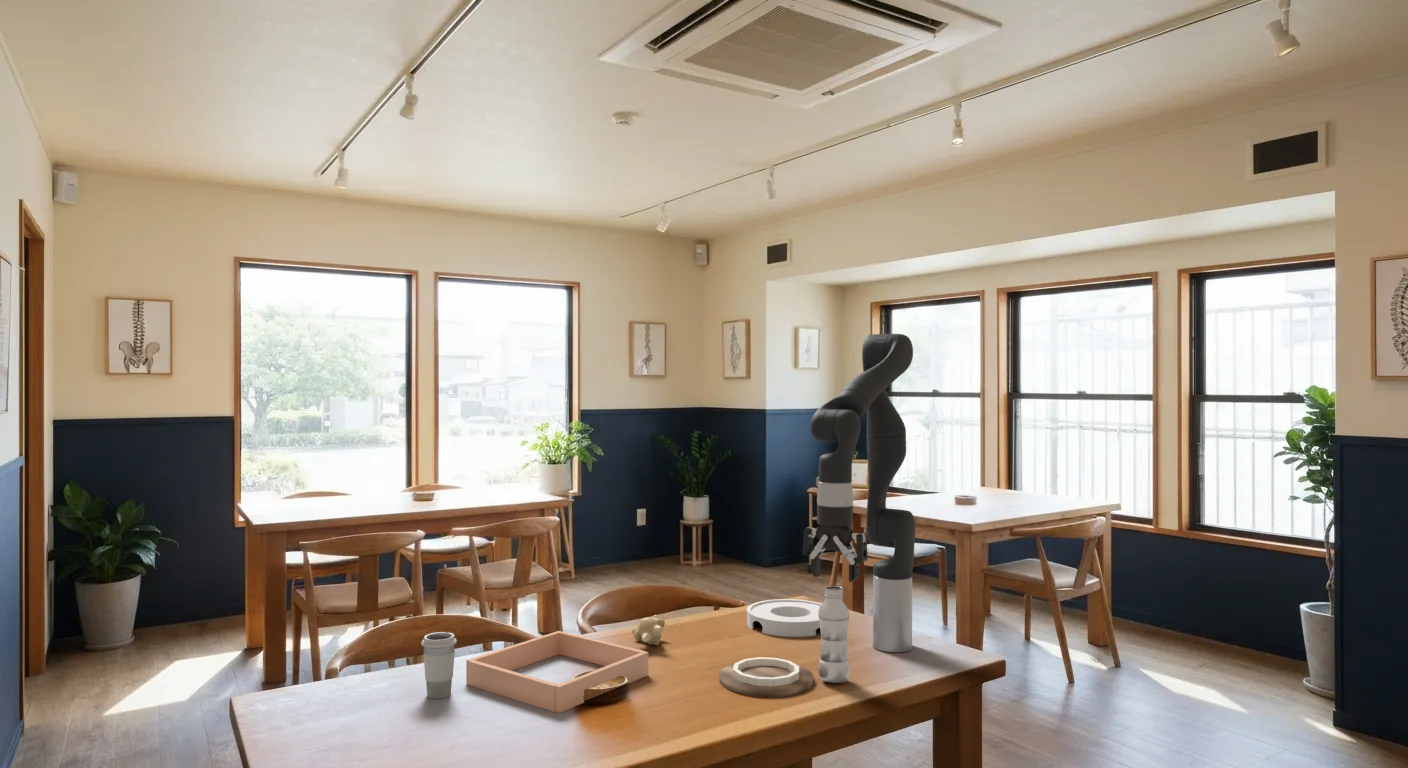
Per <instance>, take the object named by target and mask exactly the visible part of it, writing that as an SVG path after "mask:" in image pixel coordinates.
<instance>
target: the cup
mask: <svg viewBox="0 0 1408 768" xmlns="http://www.w3.org/2000/svg"><path fill="white" fill-rule="evenodd" d="M457 642H458V640H457V638H455V634H454V633H453V632H449V631H447V632H445V631H439V632H438V631H437V632H430V633H428V634H426V635H424V637H423V639H422V640H421V642H420V645H421V646H422V647H423V663H424V664H423V665H424V677H425V679H424V680H425V682H426V696H427V698H429V699H434V700H437V699H438V700H439V699H440V700H441V699H445V698H447V697H450V696H451V694H452V686H453V685H452V684H453V683H452V682H453V678H454V663H455V654H456V653H455V650H456V649H455V645H456V644H457Z"/></svg>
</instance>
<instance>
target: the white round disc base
mask: <svg viewBox="0 0 1408 768" xmlns="http://www.w3.org/2000/svg"><path fill="white" fill-rule="evenodd" d="M822 603H823V602H817V601H814V600H813V601H812V600H807V599H806V600H805V599H795V598H792V599H791V598H781V599H780V598H779V599H777V598H776V599H766V600H761V601H757V602H754V603H751V604H749V605H748V606H747V607H746V625H747V627H748V628H749V629H751V630H753V629H754V626H755V623H756V622H759V624H760V625H761V627H762V629H761V633H762V634H765V635H770V636H776V637H777V636H778V637H791V638H793V637H794V638H803V637H813V636H816V635H817V629H820V623H819V616H818V611H819V608H820V606H821V605H822Z"/></svg>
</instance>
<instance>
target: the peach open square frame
mask: <svg viewBox="0 0 1408 768" xmlns="http://www.w3.org/2000/svg"><path fill="white" fill-rule="evenodd" d="M557 655H561V656H565V657H568V658H572V659H576V660H581V661H584V662H587V663H592V664H596V665H600V666H603V667H600V668H598V669H595V670H592V671H590V672H587V673H585V674H582V675H580V676H577V677H574V678H571V679H569V680H567V681H564V682H561V683H559V684H558V683H555V682H551V681H548V680H545V679H544V680H543V679H540V678H538V677H534V676H531V675H526V674H524V673H519V672H517V671H514V670H518V669H520V668H523V667H526V666H528V665H531V664H534V663H537V662H540V661H543V660H546V659H548V658H552V657H555V656H557ZM465 666H466V667H465V668H466V671H465V672H466V679H465V681H466V683H465V684H466V685H469V686H471V687H474V688H477V689H479V690H480V689H481V690H483V691H486V692H489V693H493V694H496V695H499V696H502V697H504V698H509V699H512V700H515V701H518V702H522V703H524V704H528V705H530V706H534V707H537V708H540V709H544V710H547V711H550V712H553V713H558V714H560V713H563V712H565V711H567V710H569V709H572V708H574V707H578V706H579V705H582V704H584V703H585V702H584V699H583V698H584V697H583V696H584V690H585V689H587V688H591V687H596V686H598V685H600V684H602V683H605V682H607V681H609V680H612V679H615V678H616V677H619V676H624V677H626V678H627V680H628V683H629V684H631V683H634V682H636V681H639V680H641V679H643V678H645V677H647V676H649V652H648V651H645V650H641V649H637V648H633V647H629V646H625V645H620V644H617V643H611V642H608V641H603V640H601V639H600V640H599V639H595V638H591V637H587V636H582V635H579V634H575V633H569V632H567V631H561V630H557V631H554V632H551V633H548V634H544V635H542V636H538V637H535V638H532V639H529V640H526V641H522V642H519V643H516V644H512V645H510V646H506V647H503V648H501V649H497V650H494V651H491V652H488V653H486V654H481V655H477V656H476V657H472V658H469V659H466V665H465Z"/></svg>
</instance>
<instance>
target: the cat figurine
mask: <svg viewBox="0 0 1408 768" xmlns="http://www.w3.org/2000/svg"><path fill="white" fill-rule="evenodd" d="M665 624H666V622H665V620H664V619H663V618H662V617H660V616H659V615H658V614H654V615H653V616H651V617H644V618H643V617H642V619H641V620H640V622H639V624H638V625H637V626H635V627H634V628H633V629H632V631H631V632H632V635H633V638H634V639H635V640H636V641H637V642H641V641H642V642H644V643H647V644H648V645H653V646H659V643H660V641H661V638H662V633H663V632H664V627H665Z"/></svg>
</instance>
